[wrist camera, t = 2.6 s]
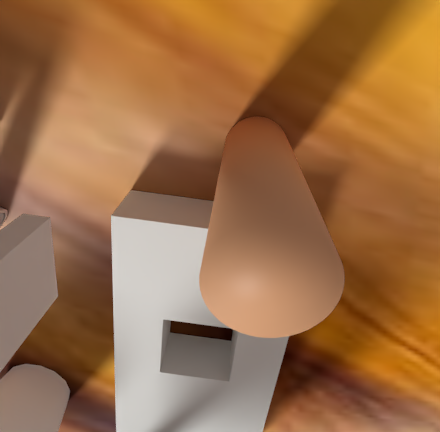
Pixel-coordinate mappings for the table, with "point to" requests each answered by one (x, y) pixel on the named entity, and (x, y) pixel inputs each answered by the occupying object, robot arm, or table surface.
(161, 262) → the board
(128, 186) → the table surface
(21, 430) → the foam cup
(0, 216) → the portable electronic device stand
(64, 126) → the table surface
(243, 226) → the peg
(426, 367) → the table surface
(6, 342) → the robot arm
